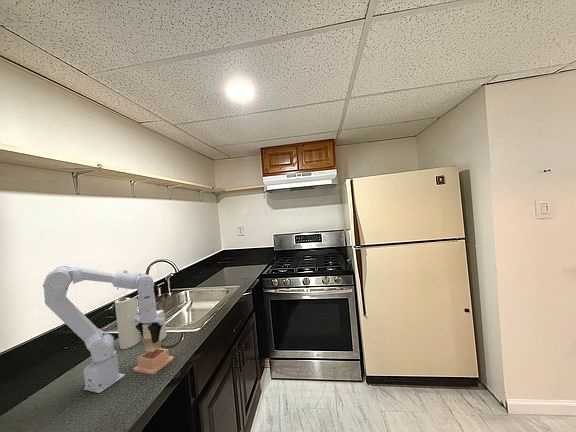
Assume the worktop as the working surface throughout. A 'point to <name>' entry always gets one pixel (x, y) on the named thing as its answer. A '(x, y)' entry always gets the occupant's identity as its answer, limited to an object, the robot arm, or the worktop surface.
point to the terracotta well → (153, 361)
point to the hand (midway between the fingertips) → (151, 341)
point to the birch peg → (149, 339)
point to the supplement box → (163, 329)
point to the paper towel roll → (127, 322)
